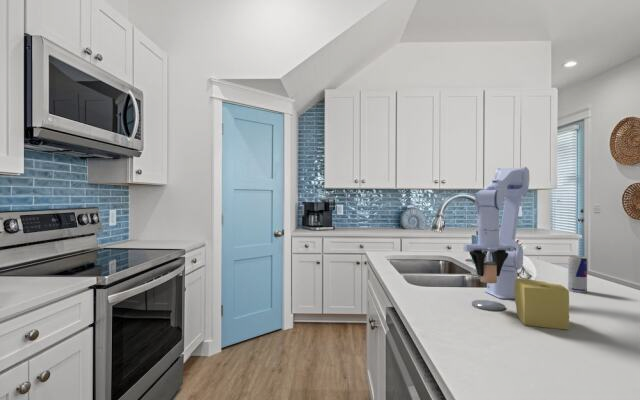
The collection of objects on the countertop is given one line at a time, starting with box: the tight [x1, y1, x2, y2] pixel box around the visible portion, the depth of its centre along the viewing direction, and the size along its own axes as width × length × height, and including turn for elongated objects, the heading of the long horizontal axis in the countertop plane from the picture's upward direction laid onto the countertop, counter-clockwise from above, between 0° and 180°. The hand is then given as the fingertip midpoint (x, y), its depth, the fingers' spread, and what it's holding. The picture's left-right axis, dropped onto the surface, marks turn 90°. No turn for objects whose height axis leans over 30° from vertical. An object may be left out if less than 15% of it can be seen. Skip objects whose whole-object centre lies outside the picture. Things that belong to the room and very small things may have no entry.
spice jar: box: [479, 259, 497, 284], centre depth 105 cm, size 4×4×6 cm
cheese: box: [514, 278, 570, 330], centre depth 92 cm, size 10×11×10 cm
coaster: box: [471, 299, 506, 312], centre depth 105 cm, size 9×9×1 cm
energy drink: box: [567, 255, 588, 294], centre depth 124 cm, size 5×5×12 cm
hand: (488, 275), depth 105 cm, fingers closed on spice jar, 4 cm apart
